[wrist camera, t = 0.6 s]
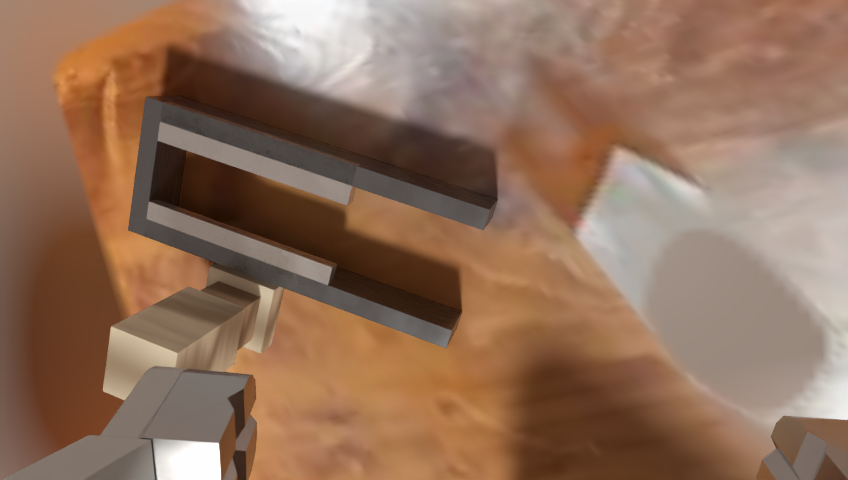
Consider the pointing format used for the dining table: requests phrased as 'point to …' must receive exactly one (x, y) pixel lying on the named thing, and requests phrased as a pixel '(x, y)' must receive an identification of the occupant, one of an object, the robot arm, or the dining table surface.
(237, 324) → the birch keyhole peg
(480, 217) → the grey slotted frame
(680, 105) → the dining table surface
